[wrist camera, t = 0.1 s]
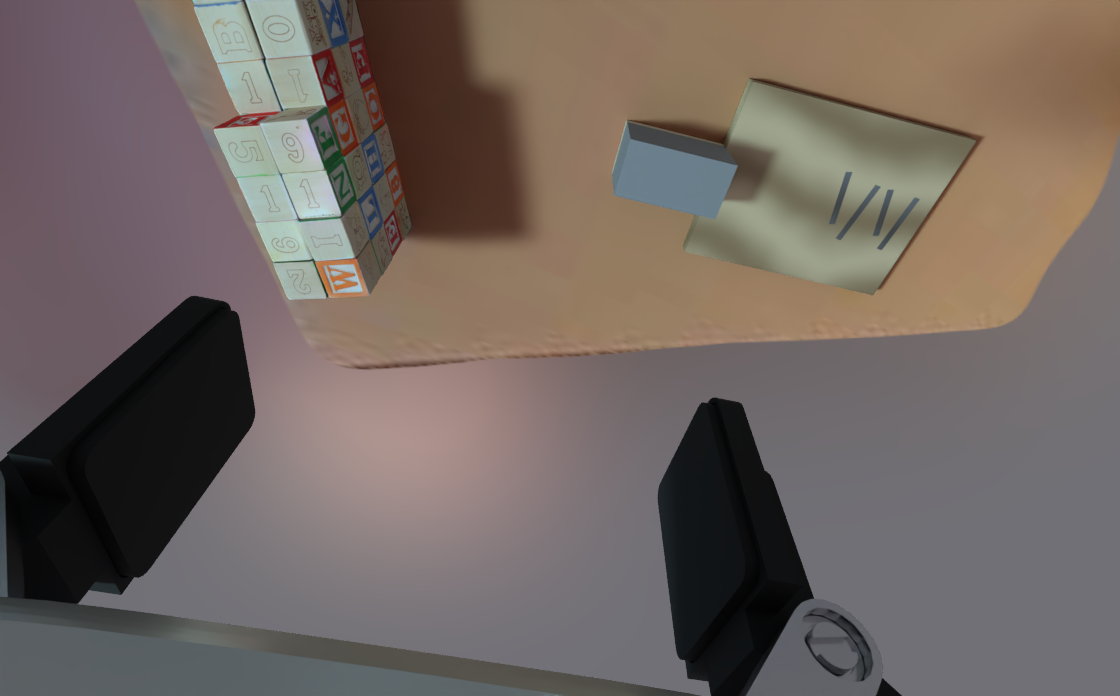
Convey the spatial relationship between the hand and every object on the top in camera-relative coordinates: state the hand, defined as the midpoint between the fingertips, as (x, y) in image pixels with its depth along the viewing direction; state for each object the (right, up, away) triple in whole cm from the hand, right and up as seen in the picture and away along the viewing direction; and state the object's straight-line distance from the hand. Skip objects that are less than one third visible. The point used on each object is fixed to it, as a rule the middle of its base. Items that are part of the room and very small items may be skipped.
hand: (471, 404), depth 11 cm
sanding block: (+11, +17, +33) cm, 38 cm away
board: (+23, +14, +34) cm, 43 cm away
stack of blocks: (-15, +21, +32) cm, 41 cm away
